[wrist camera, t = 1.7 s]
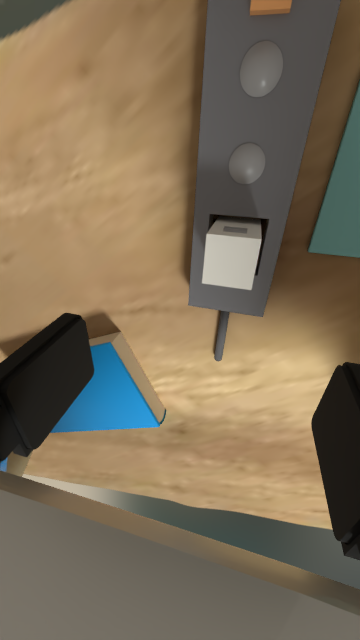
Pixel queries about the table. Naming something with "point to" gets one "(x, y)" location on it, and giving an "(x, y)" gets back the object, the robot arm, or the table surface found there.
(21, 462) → the plant pot
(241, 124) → the power strip
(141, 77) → the table surface
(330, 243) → the mat
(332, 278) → the table surface
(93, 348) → the book
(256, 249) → the charger plug
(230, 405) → the table surface
